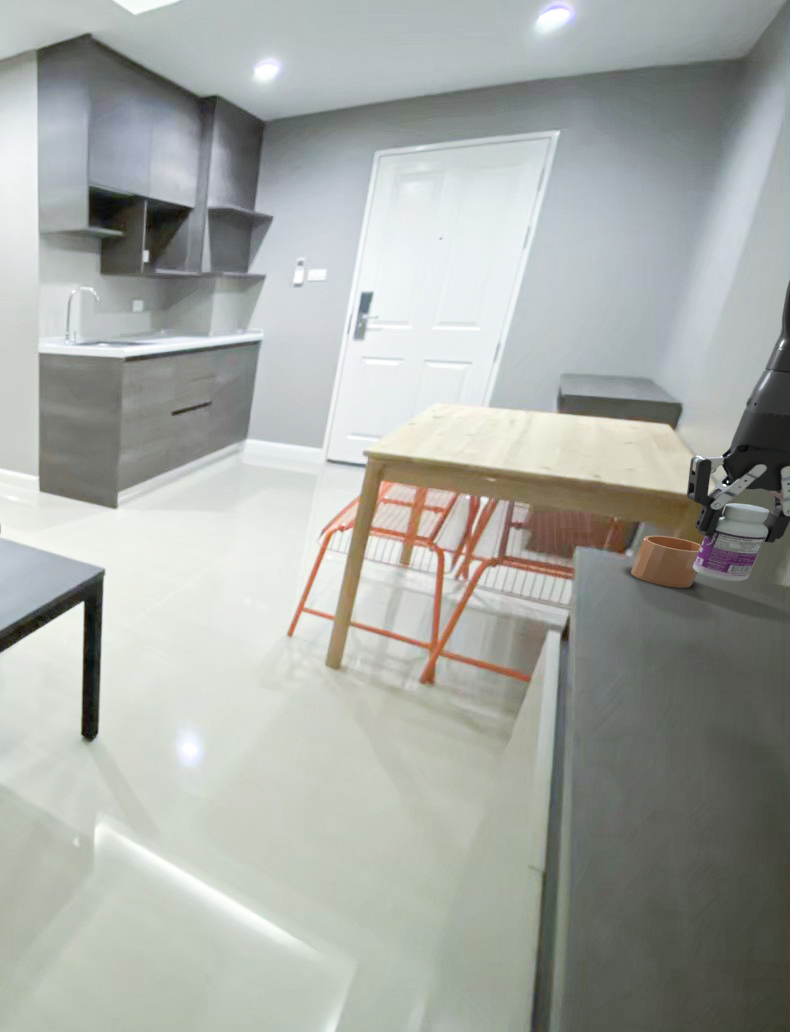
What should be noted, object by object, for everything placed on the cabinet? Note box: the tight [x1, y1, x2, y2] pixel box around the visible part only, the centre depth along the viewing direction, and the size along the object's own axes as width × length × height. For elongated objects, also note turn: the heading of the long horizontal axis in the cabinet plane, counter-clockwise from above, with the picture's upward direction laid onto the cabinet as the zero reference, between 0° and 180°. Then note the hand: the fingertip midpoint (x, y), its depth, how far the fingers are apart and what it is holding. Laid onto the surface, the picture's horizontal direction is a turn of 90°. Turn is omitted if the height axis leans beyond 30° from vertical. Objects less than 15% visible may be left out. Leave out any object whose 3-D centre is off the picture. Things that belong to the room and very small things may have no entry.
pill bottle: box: [693, 502, 770, 582], centre depth 81 cm, size 5×5×10 cm
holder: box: [630, 535, 702, 589], centre depth 108 cm, size 8×8×7 cm
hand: (735, 536), depth 81 cm, fingers closed on pill bottle, 5 cm apart
